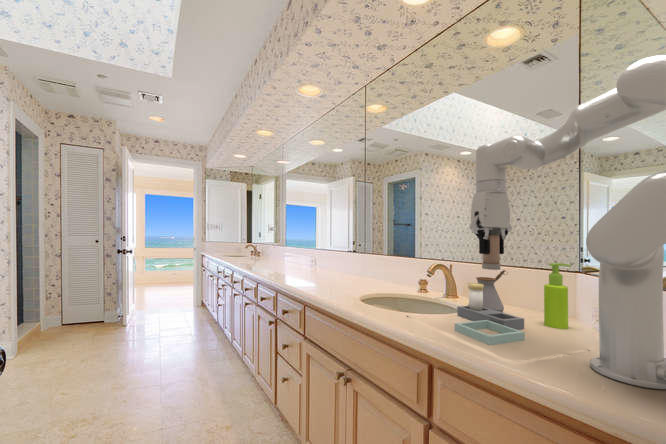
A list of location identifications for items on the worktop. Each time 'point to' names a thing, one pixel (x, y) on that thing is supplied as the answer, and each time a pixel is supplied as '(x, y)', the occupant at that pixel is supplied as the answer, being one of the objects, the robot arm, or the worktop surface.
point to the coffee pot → (491, 293)
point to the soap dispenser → (556, 299)
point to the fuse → (476, 296)
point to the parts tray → (505, 337)
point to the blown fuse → (493, 251)
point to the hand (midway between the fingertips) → (491, 253)
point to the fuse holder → (491, 317)
